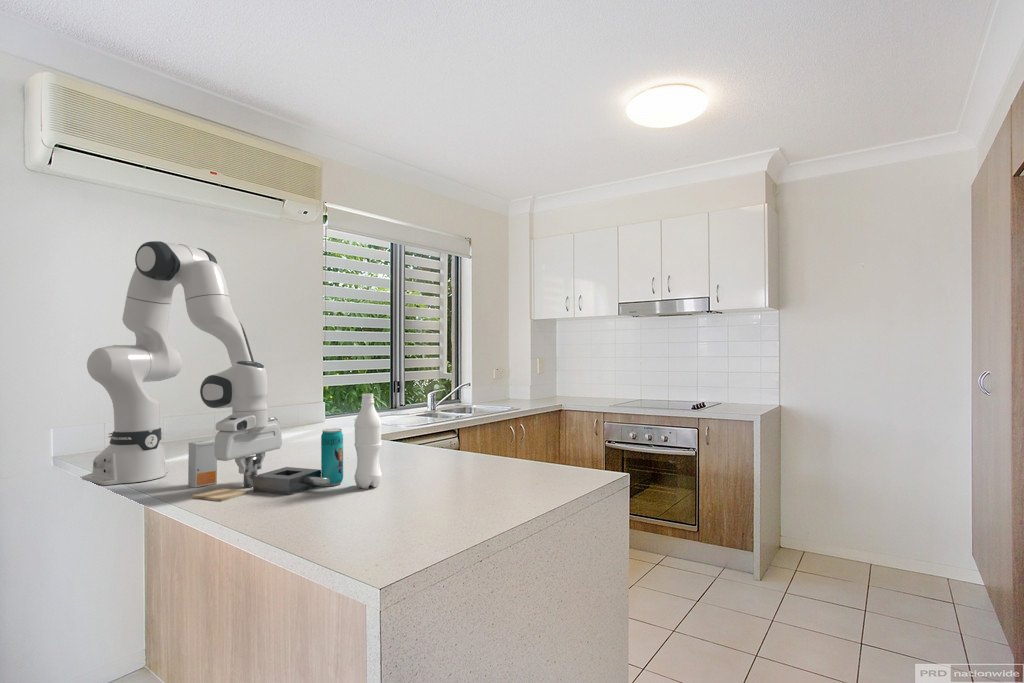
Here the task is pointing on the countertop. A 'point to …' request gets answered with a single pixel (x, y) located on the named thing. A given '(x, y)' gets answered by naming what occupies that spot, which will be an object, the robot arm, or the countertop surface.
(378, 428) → the water bottle
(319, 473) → the grey handled square frame
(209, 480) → the skincare box
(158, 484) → the countertop surface
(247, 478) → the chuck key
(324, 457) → the beverage can
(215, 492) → the pad
